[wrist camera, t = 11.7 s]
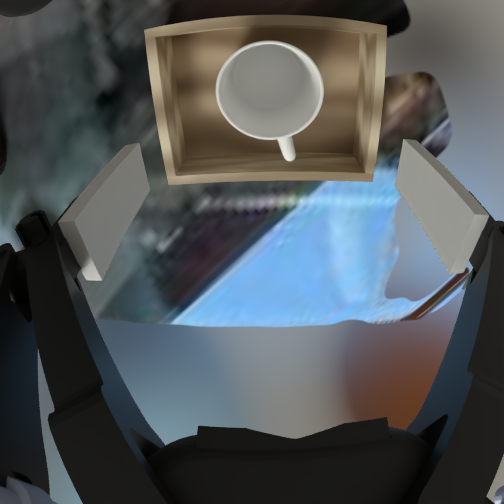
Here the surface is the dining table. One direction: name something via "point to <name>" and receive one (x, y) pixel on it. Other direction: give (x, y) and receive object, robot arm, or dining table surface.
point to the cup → (270, 92)
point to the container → (2, 154)
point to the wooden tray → (260, 150)
